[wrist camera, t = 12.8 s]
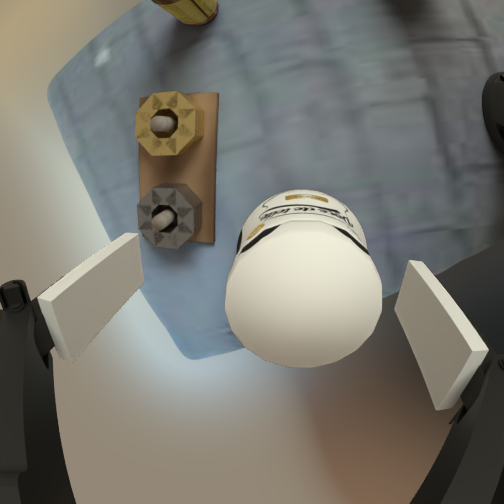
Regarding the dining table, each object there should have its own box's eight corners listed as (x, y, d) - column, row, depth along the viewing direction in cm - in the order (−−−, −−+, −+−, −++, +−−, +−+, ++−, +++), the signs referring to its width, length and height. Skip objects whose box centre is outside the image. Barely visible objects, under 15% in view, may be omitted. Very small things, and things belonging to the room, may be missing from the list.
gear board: (219, 93, 36) (204, 85, 30) (215, 240, 45) (201, 259, 38) (143, 98, 37) (118, 94, 31) (145, 234, 46) (124, 250, 39)
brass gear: (205, 93, 35) (196, 89, 32) (203, 153, 39) (194, 155, 35) (150, 97, 36) (136, 95, 33) (148, 153, 40) (135, 156, 36)
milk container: (319, 160, 38) (338, 179, 22) (377, 258, 42) (416, 329, 26) (220, 226, 44) (176, 284, 27) (284, 310, 48) (277, 393, 31)
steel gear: (202, 184, 40) (193, 189, 37) (202, 240, 44) (194, 250, 40) (148, 182, 41) (136, 187, 38) (151, 236, 45) (140, 245, 41)
